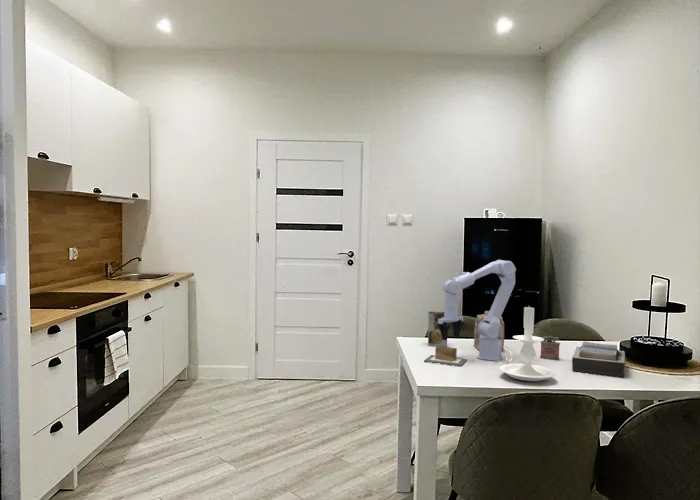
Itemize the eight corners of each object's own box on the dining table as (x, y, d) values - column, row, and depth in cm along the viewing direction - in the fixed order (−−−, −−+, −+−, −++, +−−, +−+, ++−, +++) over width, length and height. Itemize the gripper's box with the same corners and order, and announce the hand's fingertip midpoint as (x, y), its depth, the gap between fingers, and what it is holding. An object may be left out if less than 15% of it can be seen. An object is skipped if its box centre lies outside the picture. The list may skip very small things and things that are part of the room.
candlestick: (524, 367, 225) (526, 300, 224) (567, 383, 202) (570, 308, 201) (482, 370, 218) (484, 301, 217) (522, 388, 195) (524, 310, 194)
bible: (636, 368, 230) (637, 344, 229) (622, 381, 208) (623, 355, 208) (578, 359, 244) (579, 337, 243) (560, 370, 222) (561, 346, 222)
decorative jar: (503, 352, 253) (505, 313, 253) (478, 351, 254) (480, 313, 253) (497, 346, 265) (498, 310, 265) (473, 346, 265) (474, 309, 265)
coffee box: (446, 344, 268) (447, 311, 268) (447, 346, 262) (448, 313, 261) (427, 343, 269) (428, 311, 269) (428, 346, 263) (429, 312, 262)
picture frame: (467, 360, 235) (467, 358, 234) (461, 366, 224) (461, 364, 224) (431, 356, 241) (431, 354, 241) (423, 362, 230) (423, 360, 230)
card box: (439, 357, 236) (440, 345, 236) (456, 360, 231) (456, 348, 231) (435, 358, 233) (435, 347, 233) (451, 361, 228) (452, 350, 228)
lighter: (539, 358, 242) (540, 336, 242) (540, 356, 245) (541, 334, 245) (558, 360, 238) (559, 338, 238) (559, 359, 241) (560, 336, 241)
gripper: (447, 310, 229) (446, 342, 229) (469, 307, 238) (468, 338, 238) (434, 308, 234) (433, 339, 235) (456, 305, 243) (455, 335, 244)
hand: (450, 338), depth 237 cm, fingers open, 7 cm apart
